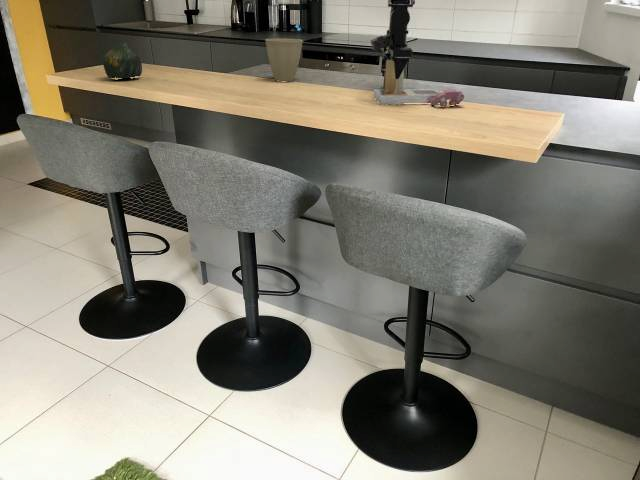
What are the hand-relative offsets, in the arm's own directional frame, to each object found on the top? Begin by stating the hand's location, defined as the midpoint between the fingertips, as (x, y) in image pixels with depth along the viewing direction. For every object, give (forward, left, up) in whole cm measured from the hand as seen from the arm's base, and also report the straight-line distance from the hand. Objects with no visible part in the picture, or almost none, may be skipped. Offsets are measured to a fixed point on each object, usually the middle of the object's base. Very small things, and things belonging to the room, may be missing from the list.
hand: (394, 77), depth 171 cm
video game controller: (+9, +16, -8) cm, 20 cm away
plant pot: (-45, -36, -8) cm, 58 cm away
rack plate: (0, +5, -8) cm, 10 cm away
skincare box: (0, 0, -7) cm, 7 cm away
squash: (-48, -101, -8) cm, 112 cm away
